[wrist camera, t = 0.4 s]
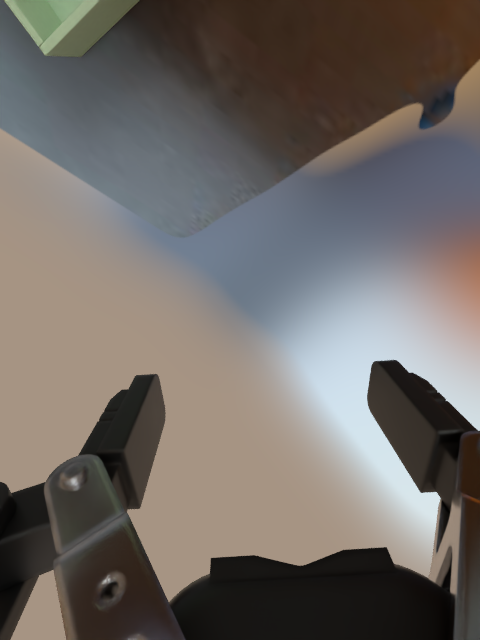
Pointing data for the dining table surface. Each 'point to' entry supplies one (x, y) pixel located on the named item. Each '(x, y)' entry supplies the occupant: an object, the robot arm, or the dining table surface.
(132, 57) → the dining table surface
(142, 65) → the dining table surface
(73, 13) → the green open box
